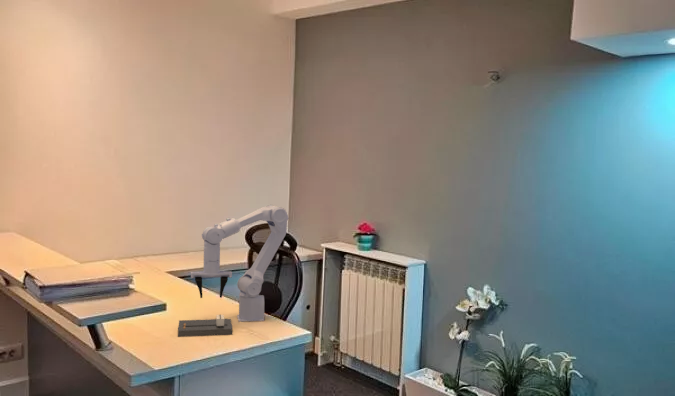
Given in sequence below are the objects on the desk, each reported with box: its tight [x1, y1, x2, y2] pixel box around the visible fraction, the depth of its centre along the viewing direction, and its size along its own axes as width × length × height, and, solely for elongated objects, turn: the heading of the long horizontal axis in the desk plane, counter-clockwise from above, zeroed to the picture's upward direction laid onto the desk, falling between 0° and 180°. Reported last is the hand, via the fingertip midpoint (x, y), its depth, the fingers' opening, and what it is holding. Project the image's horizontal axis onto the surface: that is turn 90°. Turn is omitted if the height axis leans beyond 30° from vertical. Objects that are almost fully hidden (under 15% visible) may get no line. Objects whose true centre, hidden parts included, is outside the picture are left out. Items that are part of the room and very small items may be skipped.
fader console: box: [177, 318, 233, 338], centre depth 205 cm, size 18×12×2 cm, turn 103°
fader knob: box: [215, 314, 225, 326], centre depth 205 cm, size 2×5×3 cm, turn 13°
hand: (211, 297), depth 214 cm, fingers open, 6 cm apart
